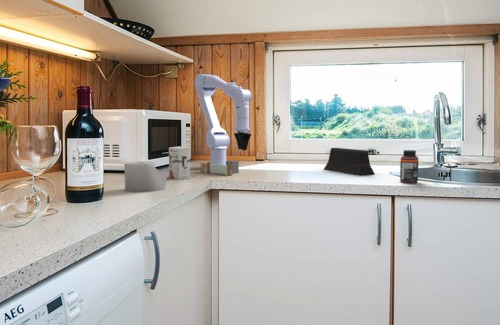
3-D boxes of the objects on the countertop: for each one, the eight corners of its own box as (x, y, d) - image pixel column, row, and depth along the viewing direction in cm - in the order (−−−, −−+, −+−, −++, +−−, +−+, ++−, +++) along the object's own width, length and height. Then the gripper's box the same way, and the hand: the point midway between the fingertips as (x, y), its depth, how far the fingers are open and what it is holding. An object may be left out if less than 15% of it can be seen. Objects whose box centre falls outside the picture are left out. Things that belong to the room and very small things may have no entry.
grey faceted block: (221, 173, 178) (221, 161, 177) (232, 172, 182) (232, 160, 182) (228, 174, 175) (227, 162, 175) (238, 173, 179) (238, 161, 179)
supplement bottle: (403, 180, 155) (404, 149, 154) (420, 182, 151) (421, 150, 150) (397, 182, 150) (398, 150, 149) (414, 184, 146) (415, 151, 145)
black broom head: (375, 175, 173) (376, 150, 172) (358, 176, 169) (359, 151, 168) (338, 169, 194) (339, 147, 193) (323, 170, 190) (323, 147, 189)
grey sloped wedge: (170, 190, 135) (169, 163, 134) (127, 192, 130) (126, 164, 129) (164, 186, 143) (163, 160, 142) (123, 188, 138) (122, 162, 137)
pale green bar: (210, 172, 178) (209, 163, 178) (213, 171, 180) (213, 163, 179) (226, 174, 171) (226, 165, 171) (230, 174, 172) (229, 165, 172)
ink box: (168, 177, 165) (167, 146, 164) (179, 176, 168) (179, 146, 167) (179, 179, 159) (178, 148, 157) (190, 178, 161) (190, 147, 160)
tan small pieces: (200, 171, 182) (200, 161, 182) (202, 171, 183) (202, 161, 183) (229, 175, 170) (229, 164, 169) (232, 175, 171) (232, 164, 170)
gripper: (229, 117, 188) (230, 148, 189) (236, 117, 174) (236, 150, 175) (245, 117, 189) (245, 148, 191) (253, 117, 175) (253, 150, 177)
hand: (242, 149), depth 183 cm, fingers open, 6 cm apart
